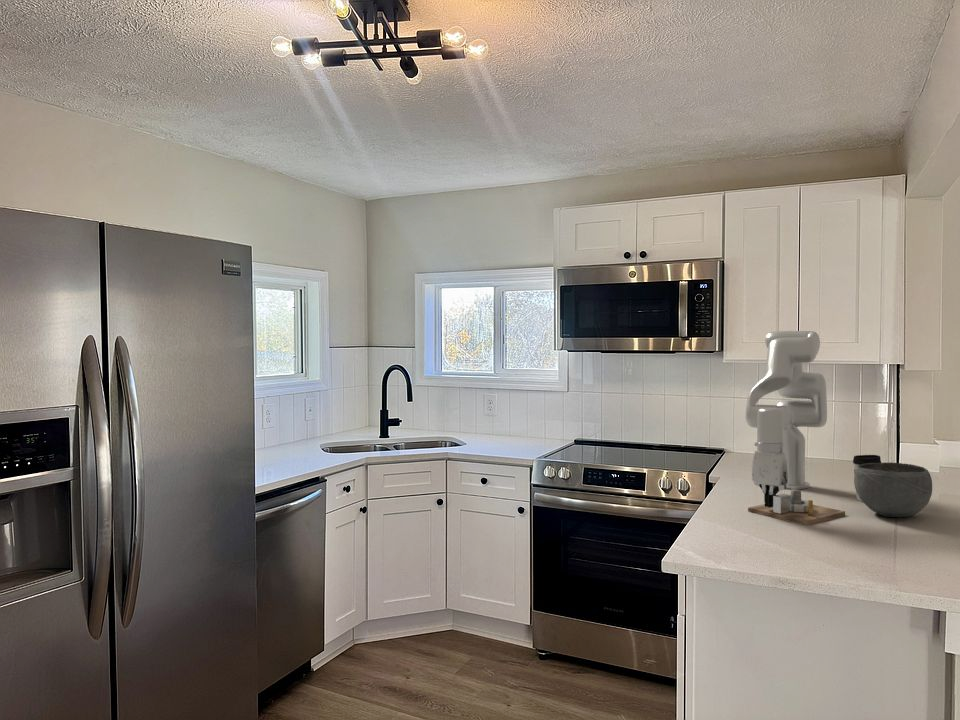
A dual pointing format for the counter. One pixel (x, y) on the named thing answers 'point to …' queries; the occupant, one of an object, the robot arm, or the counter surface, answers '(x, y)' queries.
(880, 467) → the bowl
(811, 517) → the post base
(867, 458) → the coffee cup
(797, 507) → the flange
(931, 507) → the counter surface
